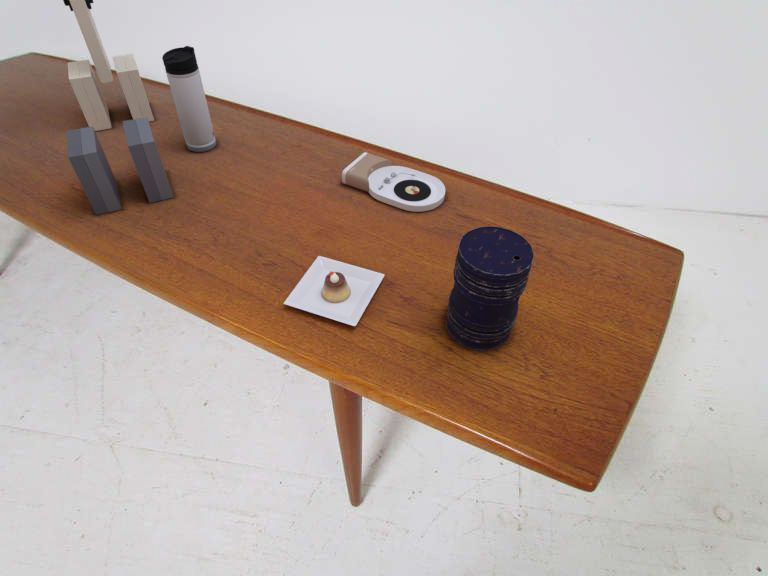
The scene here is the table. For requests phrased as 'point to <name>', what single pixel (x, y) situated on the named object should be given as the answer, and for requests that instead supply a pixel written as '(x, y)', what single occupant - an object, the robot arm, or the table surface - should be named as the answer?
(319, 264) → the dessert
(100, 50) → the cream book
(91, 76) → the white books
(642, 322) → the table surface
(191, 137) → the travel mug
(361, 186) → the record player
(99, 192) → the grey books
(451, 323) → the dark blue barrel
